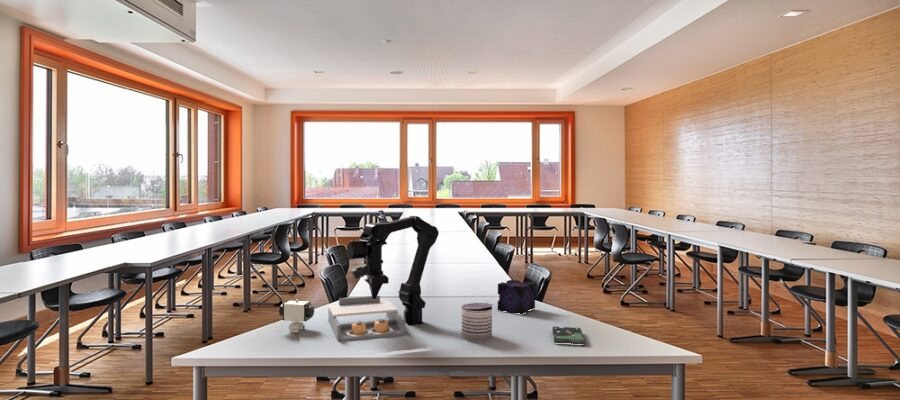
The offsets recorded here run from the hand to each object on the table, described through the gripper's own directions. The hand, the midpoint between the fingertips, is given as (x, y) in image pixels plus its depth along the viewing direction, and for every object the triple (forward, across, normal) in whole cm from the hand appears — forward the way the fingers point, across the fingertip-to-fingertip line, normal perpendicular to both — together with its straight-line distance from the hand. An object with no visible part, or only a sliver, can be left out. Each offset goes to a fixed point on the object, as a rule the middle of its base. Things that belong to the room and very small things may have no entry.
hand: (374, 298), depth 185 cm
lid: (+5, -7, -3) cm, 9 cm away
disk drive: (+13, +35, +62) cm, 72 cm away
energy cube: (+13, -7, +65) cm, 67 cm away
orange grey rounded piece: (+11, +7, +1) cm, 13 cm away
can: (+12, +22, +32) cm, 41 cm away
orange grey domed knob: (+11, +7, -7) cm, 15 cm away
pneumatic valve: (+12, -9, -27) cm, 31 cm away
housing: (+12, -1, -3) cm, 12 cm away
